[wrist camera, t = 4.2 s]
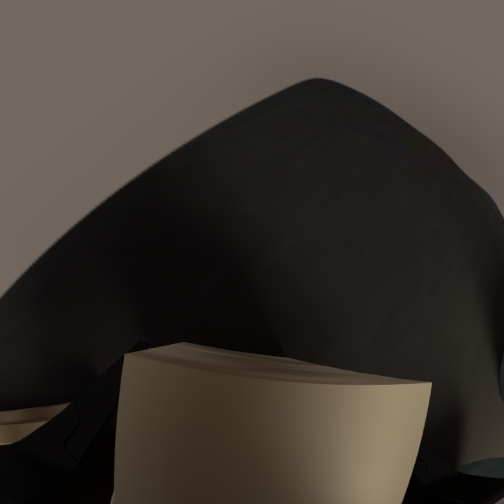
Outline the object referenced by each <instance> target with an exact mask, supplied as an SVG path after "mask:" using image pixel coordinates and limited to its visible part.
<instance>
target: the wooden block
mask: <svg viewBox="0 0 504 504" xmlns="http://www.w3.org/2000/svg"><path fill="white" fill-rule="evenodd" d="M431 386H432V382H423V381H414V380H406V379H398V378H391V377H384V376H378V375H371V374H365V373H359V372H354V371H348V370H343V369H337V368H332V367H327V366H322V365H317V364H313V363H308V362H303V361H299V360H295V359H290V358H285V357H276V356H268V355H260V354H252V353H245V352H238V351H232V350H225V349H219V348H213V347H208V346H202V345H197V344H191V343H186V342H181V343H176V344H171V345H167V346H162V347H157V348H152V349H147V350H142V351H137V352H132V353H127V354H125V356H124V363H123V370H122V378H121V386H120V395H119V404H118V415H117V427H116V443H115V467H114V504H401V503H402V501H403V498H404V495H405V492H406V489H407V487H408V484H409V481H410V477H411V474H412V471H413V468H414V464H415V461H416V457H417V454H418V450H419V446H420V442H421V438H422V434H423V429H424V425H425V420H426V415H427V410H428V404H429V398H430V392H431Z"/></svg>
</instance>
